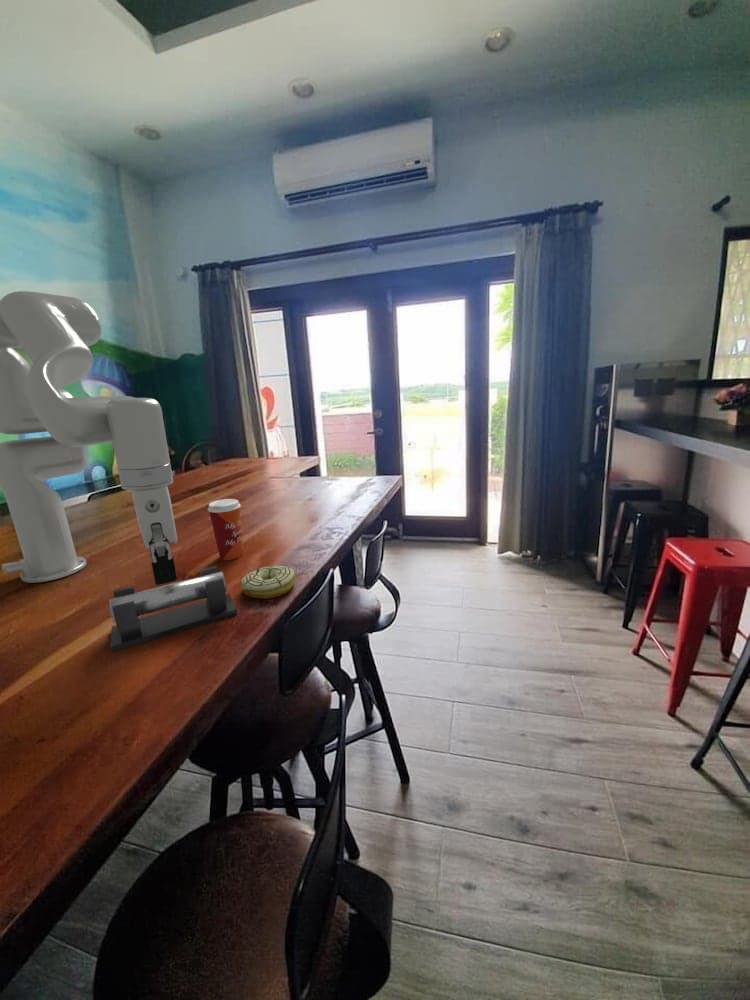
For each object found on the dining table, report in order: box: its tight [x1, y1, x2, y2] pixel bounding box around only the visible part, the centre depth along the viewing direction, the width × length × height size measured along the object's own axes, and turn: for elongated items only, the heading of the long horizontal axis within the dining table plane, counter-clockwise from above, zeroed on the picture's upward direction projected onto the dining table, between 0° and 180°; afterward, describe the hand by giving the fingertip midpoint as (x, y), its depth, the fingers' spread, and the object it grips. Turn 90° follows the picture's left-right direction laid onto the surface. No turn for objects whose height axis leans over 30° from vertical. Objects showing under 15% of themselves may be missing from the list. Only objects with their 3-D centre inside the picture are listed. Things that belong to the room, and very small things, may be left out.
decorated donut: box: [240, 564, 296, 600], centre depth 84 cm, size 10×11×4 cm
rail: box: [108, 571, 227, 624], centre depth 72 cm, size 18×4×4 cm, turn 120°
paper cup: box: [207, 498, 244, 561], centre depth 101 cm, size 8×8×14 cm
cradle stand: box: [109, 565, 238, 653], centre depth 73 cm, size 20×7×8 cm, turn 120°
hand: (164, 570), depth 71 cm, fingers open, 9 cm apart
